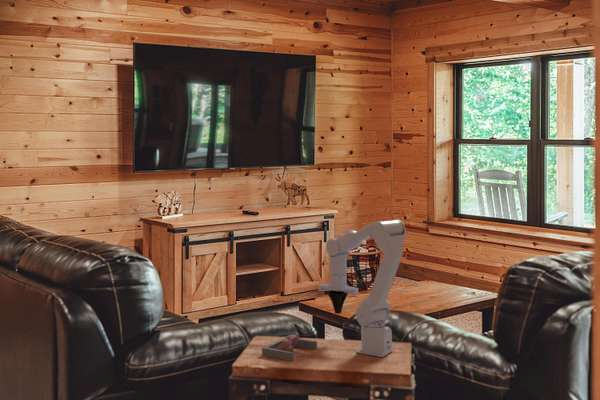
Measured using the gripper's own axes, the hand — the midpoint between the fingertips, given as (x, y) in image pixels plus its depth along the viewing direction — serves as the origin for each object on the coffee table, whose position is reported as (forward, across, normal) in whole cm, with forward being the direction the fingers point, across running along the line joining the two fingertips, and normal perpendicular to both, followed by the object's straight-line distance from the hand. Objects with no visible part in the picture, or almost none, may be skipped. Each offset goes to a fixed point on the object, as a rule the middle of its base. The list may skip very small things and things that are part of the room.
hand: (338, 313), depth 252 cm
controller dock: (+9, -7, -20) cm, 23 cm away
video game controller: (+10, -8, -20) cm, 24 cm away
